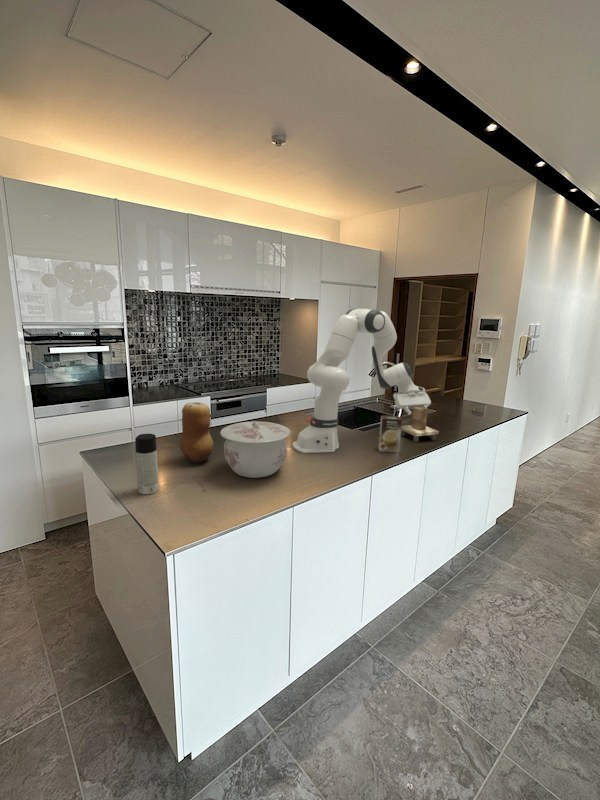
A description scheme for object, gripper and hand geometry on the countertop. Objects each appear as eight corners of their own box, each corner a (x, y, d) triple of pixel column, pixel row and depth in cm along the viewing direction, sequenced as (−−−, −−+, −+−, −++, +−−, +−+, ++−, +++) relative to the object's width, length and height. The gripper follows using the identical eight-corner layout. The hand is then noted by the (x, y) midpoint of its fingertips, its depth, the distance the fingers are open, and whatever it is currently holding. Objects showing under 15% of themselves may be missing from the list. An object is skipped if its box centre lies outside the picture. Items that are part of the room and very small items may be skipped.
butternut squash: (220, 459, 165) (219, 402, 160) (197, 469, 154) (195, 408, 149) (196, 452, 172) (194, 398, 167) (173, 462, 161) (170, 403, 155)
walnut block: (417, 430, 199) (419, 409, 196) (411, 427, 203) (413, 407, 201) (425, 429, 200) (427, 408, 198) (419, 426, 205) (421, 406, 203)
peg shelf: (415, 443, 194) (416, 433, 193) (398, 434, 207) (399, 425, 206) (437, 440, 199) (438, 431, 198) (420, 432, 212) (421, 423, 211)
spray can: (161, 486, 138) (158, 433, 134) (155, 495, 131) (151, 439, 127) (142, 486, 138) (139, 432, 133) (135, 495, 131) (131, 439, 127)
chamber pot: (264, 492, 136) (265, 436, 131) (205, 475, 149) (204, 423, 144) (303, 466, 160) (304, 418, 155) (249, 454, 172) (249, 409, 168)
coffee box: (379, 451, 180) (381, 418, 177) (378, 447, 186) (380, 415, 183) (399, 452, 179) (402, 419, 176) (397, 448, 186) (400, 416, 182)
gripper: (394, 389, 202) (404, 412, 195) (426, 388, 209) (437, 409, 203) (389, 396, 207) (398, 418, 200) (420, 394, 214) (430, 415, 208)
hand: (418, 414), depth 202 cm, fingers open, 8 cm apart
